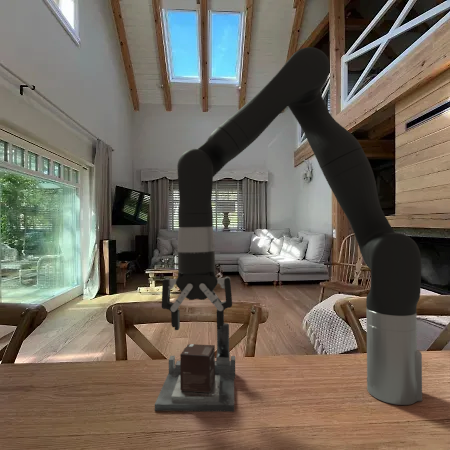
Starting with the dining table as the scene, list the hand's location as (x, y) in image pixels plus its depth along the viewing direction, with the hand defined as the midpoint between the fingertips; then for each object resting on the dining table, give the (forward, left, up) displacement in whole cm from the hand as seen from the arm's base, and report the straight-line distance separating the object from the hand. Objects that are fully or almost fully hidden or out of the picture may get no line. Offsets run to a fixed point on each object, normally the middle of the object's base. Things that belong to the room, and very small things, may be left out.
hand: (197, 328), depth 66 cm
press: (0, -3, -14) cm, 14 cm away
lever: (-5, -9, -10) cm, 15 cm away
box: (0, 0, -12) cm, 12 cm away
